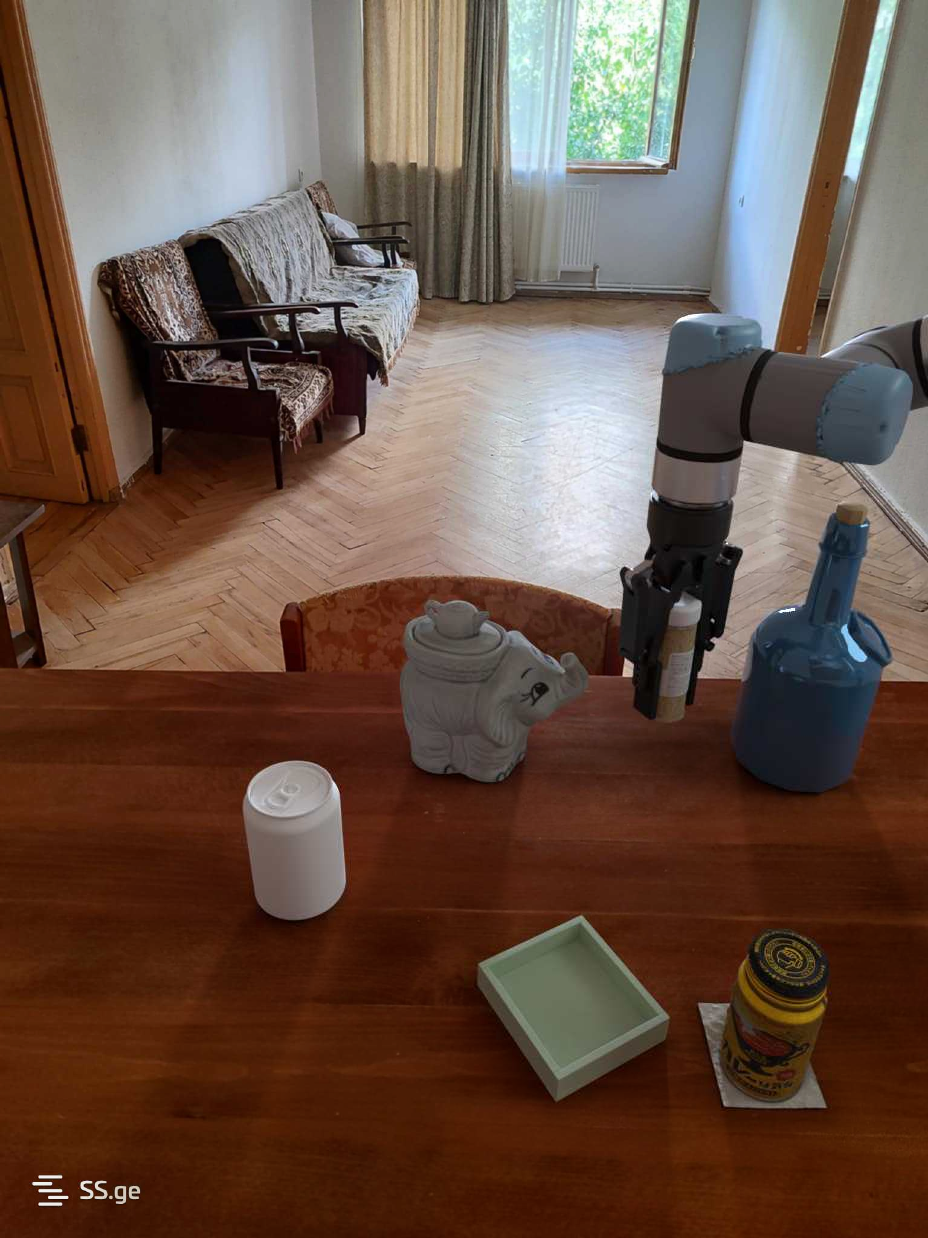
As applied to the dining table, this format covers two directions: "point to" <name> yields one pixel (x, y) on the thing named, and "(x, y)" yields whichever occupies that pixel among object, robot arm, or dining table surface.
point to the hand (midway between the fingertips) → (663, 705)
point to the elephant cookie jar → (477, 691)
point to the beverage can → (295, 840)
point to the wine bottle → (813, 672)
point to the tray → (571, 1006)
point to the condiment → (770, 1024)
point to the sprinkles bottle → (677, 658)
